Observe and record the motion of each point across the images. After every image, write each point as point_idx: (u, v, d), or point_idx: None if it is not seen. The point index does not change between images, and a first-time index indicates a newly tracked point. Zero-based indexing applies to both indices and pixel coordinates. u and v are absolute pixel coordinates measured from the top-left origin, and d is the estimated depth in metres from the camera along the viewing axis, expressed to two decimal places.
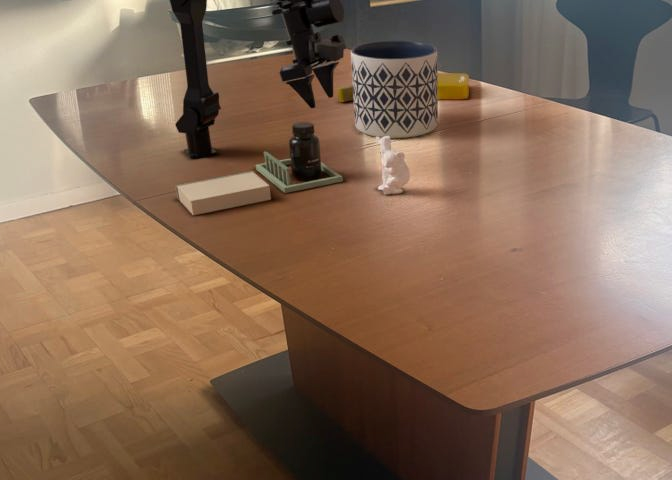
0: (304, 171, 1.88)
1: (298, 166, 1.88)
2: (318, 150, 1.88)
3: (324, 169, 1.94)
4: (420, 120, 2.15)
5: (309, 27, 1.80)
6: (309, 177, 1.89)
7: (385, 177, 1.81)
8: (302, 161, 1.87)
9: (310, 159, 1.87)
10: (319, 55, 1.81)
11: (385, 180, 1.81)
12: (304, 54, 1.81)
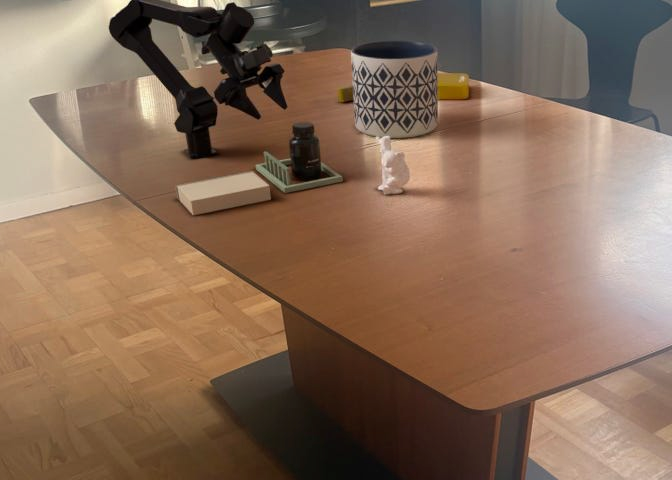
0: (304, 171, 1.88)
1: (298, 166, 1.88)
2: (318, 150, 1.88)
3: (324, 169, 1.94)
4: (420, 120, 2.15)
5: (231, 48, 1.85)
6: (309, 177, 1.89)
7: (385, 177, 1.81)
8: (302, 161, 1.87)
9: (310, 159, 1.87)
10: (246, 67, 1.83)
11: (385, 180, 1.81)
12: (235, 73, 1.85)
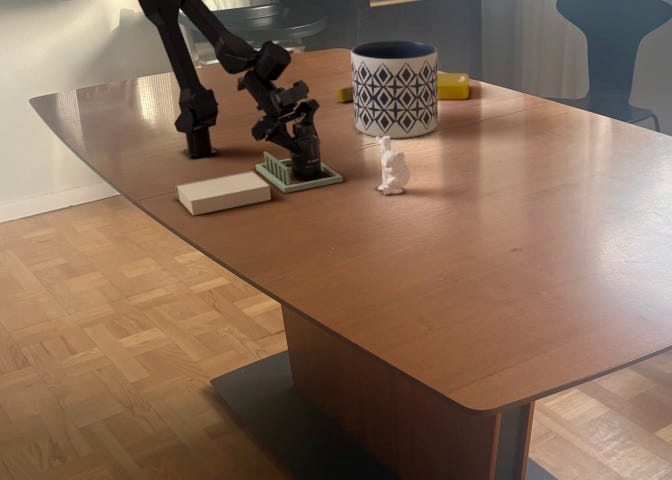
0: (304, 171, 1.88)
1: (298, 166, 1.88)
2: (318, 150, 1.88)
3: (324, 169, 1.94)
4: (420, 120, 2.15)
5: (268, 85, 1.85)
6: (309, 177, 1.89)
7: (385, 177, 1.81)
8: (302, 161, 1.87)
9: (310, 159, 1.87)
10: (283, 104, 1.83)
11: (385, 180, 1.81)
12: (272, 110, 1.85)
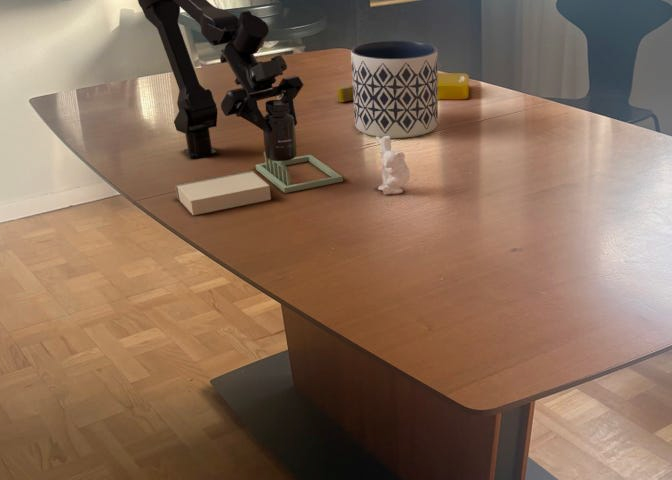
0: (274, 151, 1.79)
1: (269, 145, 1.79)
2: (291, 130, 1.79)
3: (324, 169, 1.94)
4: (420, 120, 2.15)
5: (246, 58, 1.77)
6: (280, 158, 1.80)
7: (385, 177, 1.81)
8: (272, 141, 1.78)
9: (280, 139, 1.78)
10: (256, 79, 1.75)
11: (385, 180, 1.81)
12: (247, 85, 1.77)
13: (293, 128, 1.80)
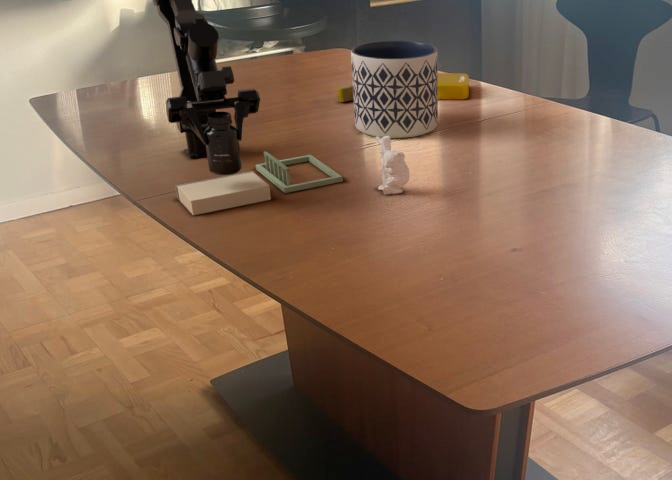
0: (212, 164, 1.73)
1: (208, 157, 1.73)
2: (229, 145, 1.71)
3: (324, 169, 1.94)
4: (420, 120, 2.15)
5: (201, 66, 1.72)
6: (217, 172, 1.73)
7: (385, 177, 1.81)
8: (209, 153, 1.72)
9: (216, 153, 1.71)
10: (200, 88, 1.69)
11: (385, 180, 1.81)
12: (197, 93, 1.72)
13: (233, 143, 1.71)
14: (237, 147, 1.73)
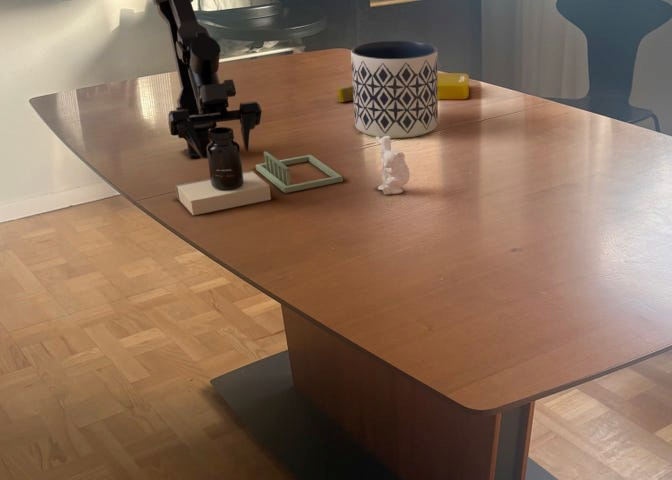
0: (214, 179, 1.74)
1: (210, 172, 1.75)
2: (231, 160, 1.73)
3: (324, 169, 1.94)
4: (420, 120, 2.15)
5: (203, 79, 1.73)
6: (219, 187, 1.75)
7: (385, 177, 1.81)
8: (212, 168, 1.73)
9: (219, 168, 1.73)
10: (202, 101, 1.70)
11: (385, 180, 1.81)
12: (199, 106, 1.73)
13: (235, 158, 1.73)
14: (239, 162, 1.75)
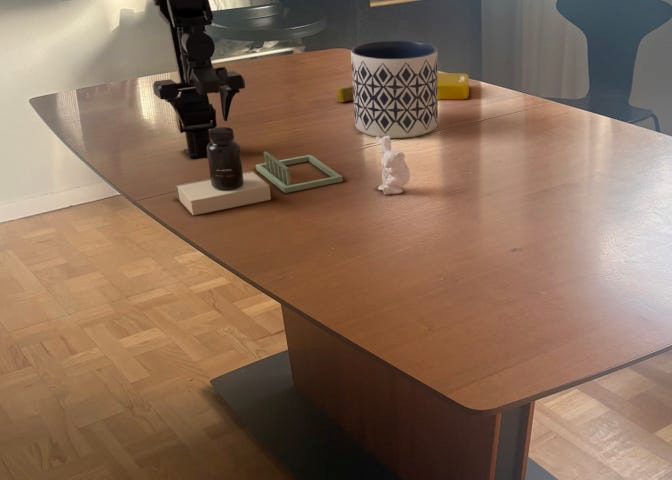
0: (214, 179, 1.74)
1: (210, 172, 1.75)
2: (231, 160, 1.73)
3: (324, 169, 1.94)
4: (420, 120, 2.15)
5: None
6: (219, 186, 1.75)
7: (385, 177, 1.81)
8: (212, 168, 1.73)
9: (219, 168, 1.73)
10: (193, 82, 1.77)
11: (385, 180, 1.81)
12: (186, 75, 1.78)
13: (235, 158, 1.73)
14: (239, 162, 1.75)
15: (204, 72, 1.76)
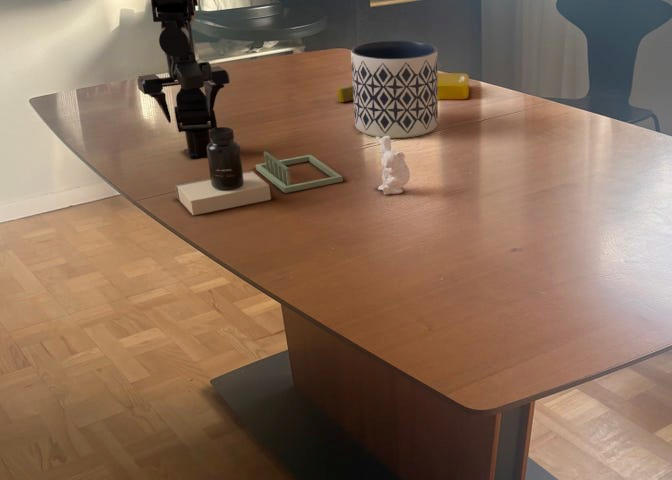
0: (214, 179, 1.74)
1: (210, 172, 1.75)
2: (231, 160, 1.73)
3: (324, 169, 1.94)
4: (420, 120, 2.15)
5: None
6: (219, 186, 1.75)
7: (385, 177, 1.81)
8: (212, 168, 1.73)
9: (219, 168, 1.73)
10: (177, 77, 1.77)
11: (385, 180, 1.81)
12: (170, 70, 1.79)
13: (235, 158, 1.73)
14: (239, 162, 1.75)
15: (188, 67, 1.76)
